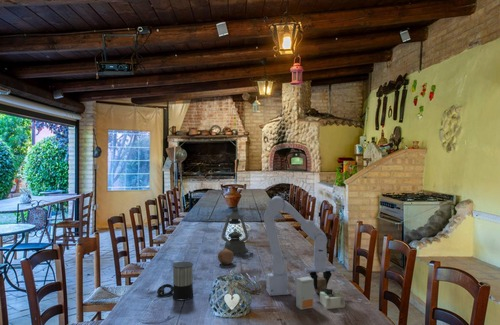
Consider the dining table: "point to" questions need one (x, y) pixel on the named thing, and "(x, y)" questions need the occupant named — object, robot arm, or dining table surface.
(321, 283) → the walnut block
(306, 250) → the dining table surface
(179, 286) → the milk frother
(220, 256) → the onion
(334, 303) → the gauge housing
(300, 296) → the skincare box
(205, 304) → the dining table surface
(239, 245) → the lantern
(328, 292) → the plunger
